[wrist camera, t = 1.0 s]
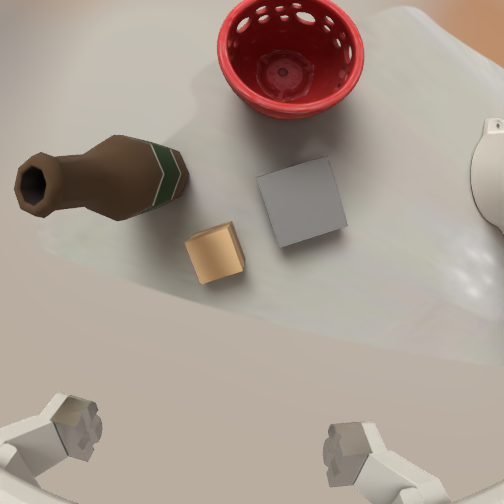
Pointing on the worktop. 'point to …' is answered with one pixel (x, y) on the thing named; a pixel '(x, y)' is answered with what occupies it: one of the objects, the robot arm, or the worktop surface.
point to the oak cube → (215, 252)
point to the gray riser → (302, 201)
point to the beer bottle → (103, 179)
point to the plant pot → (290, 56)
